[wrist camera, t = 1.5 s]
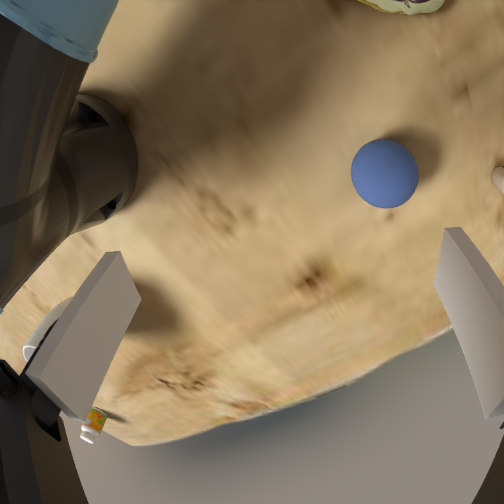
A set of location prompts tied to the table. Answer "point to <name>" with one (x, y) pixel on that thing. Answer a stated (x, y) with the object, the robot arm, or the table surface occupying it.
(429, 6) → the decorated donut
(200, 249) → the table surface
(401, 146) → the ball
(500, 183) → the pin
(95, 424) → the supplement bottle
